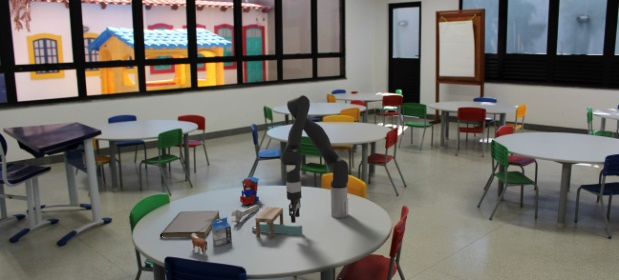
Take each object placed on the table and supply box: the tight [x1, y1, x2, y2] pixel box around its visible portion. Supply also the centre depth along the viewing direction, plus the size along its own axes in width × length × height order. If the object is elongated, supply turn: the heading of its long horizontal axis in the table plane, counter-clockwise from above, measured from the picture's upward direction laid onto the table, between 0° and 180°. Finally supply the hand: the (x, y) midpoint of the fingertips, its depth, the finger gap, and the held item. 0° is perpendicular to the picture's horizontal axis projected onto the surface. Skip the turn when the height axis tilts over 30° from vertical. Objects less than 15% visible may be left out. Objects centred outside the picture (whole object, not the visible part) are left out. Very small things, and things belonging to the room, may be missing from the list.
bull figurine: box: [189, 233, 208, 256], centre depth 257 cm, size 4×13×8 cm, turn 41°
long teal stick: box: [260, 222, 303, 235], centre depth 279 cm, size 23×2×4 cm, turn 76°
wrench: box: [231, 204, 260, 224], centre depth 304 cm, size 8×2×30 cm
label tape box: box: [211, 217, 233, 247], centre depth 266 cm, size 9×4×12 cm, turn 126°
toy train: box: [239, 176, 260, 205], centre depth 330 cm, size 10×16×15 cm, turn 172°
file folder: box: [159, 210, 220, 238], centre depth 292 cm, size 33×4×24 cm
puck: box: [251, 225, 256, 233], centre depth 283 cm, size 4×4×2 cm
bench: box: [255, 206, 284, 240], centre depth 280 cm, size 9×18×10 cm, turn 166°
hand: (295, 219), depth 276 cm, fingers open, 8 cm apart
